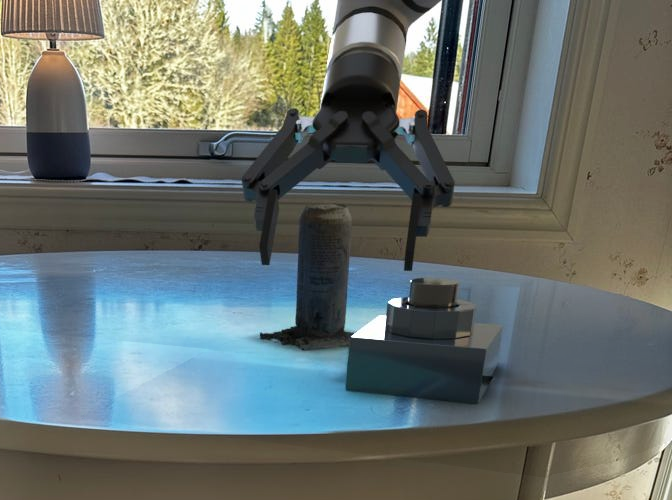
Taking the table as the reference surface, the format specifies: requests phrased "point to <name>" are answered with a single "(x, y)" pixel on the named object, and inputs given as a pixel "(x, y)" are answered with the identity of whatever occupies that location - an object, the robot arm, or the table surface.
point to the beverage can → (321, 280)
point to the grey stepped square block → (424, 353)
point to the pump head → (433, 293)
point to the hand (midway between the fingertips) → (335, 259)
